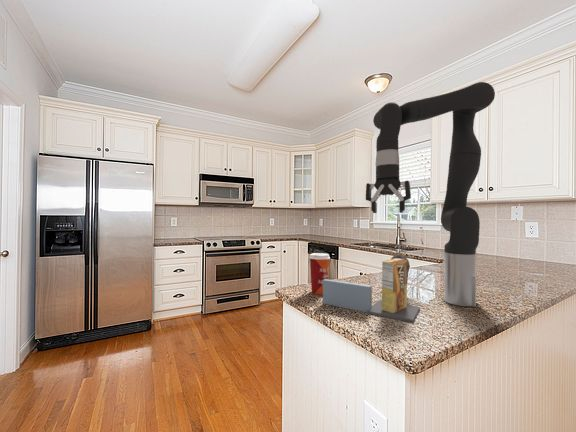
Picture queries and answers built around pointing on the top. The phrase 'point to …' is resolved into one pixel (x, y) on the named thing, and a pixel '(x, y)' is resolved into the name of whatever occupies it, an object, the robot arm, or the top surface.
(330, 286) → the screen
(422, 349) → the top surface
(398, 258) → the beverage cup
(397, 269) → the candy box
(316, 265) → the coffee cup
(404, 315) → the mat
